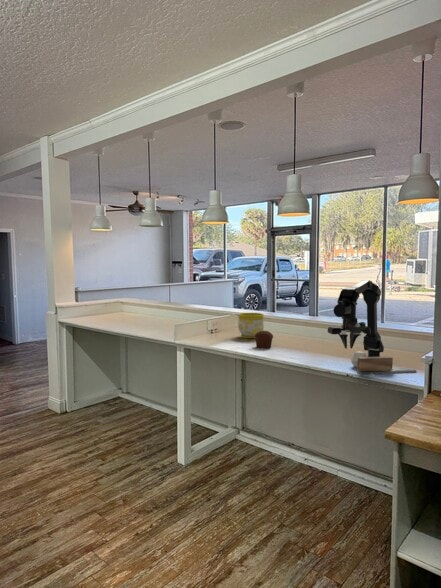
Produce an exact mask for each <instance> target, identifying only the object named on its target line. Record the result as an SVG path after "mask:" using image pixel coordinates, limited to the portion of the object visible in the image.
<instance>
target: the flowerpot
mask: <svg viewBox="0 0 441 588" xmlns="http://www.w3.org/2000/svg"><path fill="white" fill-rule="evenodd" d="M264 316H265V314H264V313H261V312H241V313H238V324H237V325H238V330H239V333H240V336H241V337H242V338H243V339H247V338H255V334H256V333H257V332H259V331H264V328H265V322H264Z"/></svg>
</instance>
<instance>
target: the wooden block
mask: <svg viewBox="0 0 441 588" xmlns="http://www.w3.org/2000/svg"><path fill="white" fill-rule="evenodd" d="M393 360H394V357H392V356H389V355H386V356H380V357H368V356H367V357H358V367H356V369H357V370H359V371H360V372H362V371H386V370H392V369H393V362H394V361H393ZM357 370H356V371H357Z"/></svg>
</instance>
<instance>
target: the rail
mask: <svg viewBox="0 0 441 588" xmlns="http://www.w3.org/2000/svg"><path fill="white" fill-rule="evenodd" d="M409 372H410V373H417V369H415V368H412V367H409V368H408V367H405V368H402V367H401V368H392V370H386V371H362V372H360V371H359V370H356V373H358V374H359V375H362V376H363V375H380V374H381V375H382V374H383V373H386V374H402V373H403V374H406V373H408V374H409Z"/></svg>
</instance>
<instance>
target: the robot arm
mask: <svg viewBox="0 0 441 588" xmlns="http://www.w3.org/2000/svg"><path fill="white" fill-rule="evenodd" d="M360 295H362V299H363V301H364V302H365V304H366V321H367V322H364V321H360V322H358V317H357V305H358V299H360ZM381 295H382V291H381V288H380V287H379V286H378V285H377V284H375V283H374V282H373V281H372V280H370V279H365V280H364V279H362V280H360V281H359V282H357V283H356V284H354V285H353V286H347V287H343V288H342V289H341V290H340V293H339V295H338V299H337V301H336V302H337V304H336V305H335V306H334V308H333V310H332V311H333V314H334V315H335V316H336V317H338V318H341V319H342V325H341V326H340V327H341V328H340V327H339V326H328V328H327V333H328V334H331V335H338V336H339V337H340V340H341V342H342V345H343V347H344V349H346V350H347V349H348V336H349V348H350V349H351V350H352V349H353V347H354V345H355V343H356V341H357V340H356V339H358V338H359V336H360V337H361V336H362V333H363V334H365V335H364V336H363V342H362V343H363V350H364V351H367V357H381V355H380V354H381V353H384V351H385V347H384V344H383V342H382V338H381V335H380V333H379V332H378V303H379V301H380V300H381ZM366 325H367V326H366ZM347 333H349V334H347Z"/></svg>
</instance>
